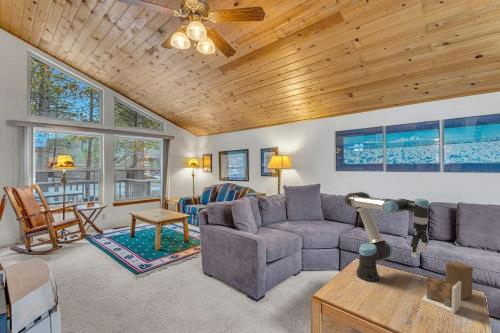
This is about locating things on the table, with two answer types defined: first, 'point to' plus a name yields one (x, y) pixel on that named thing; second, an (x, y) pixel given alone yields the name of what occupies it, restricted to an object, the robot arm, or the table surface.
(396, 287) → the table surface
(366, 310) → the table surface
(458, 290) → the l-bracket with handles
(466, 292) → the wooden block
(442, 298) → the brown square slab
